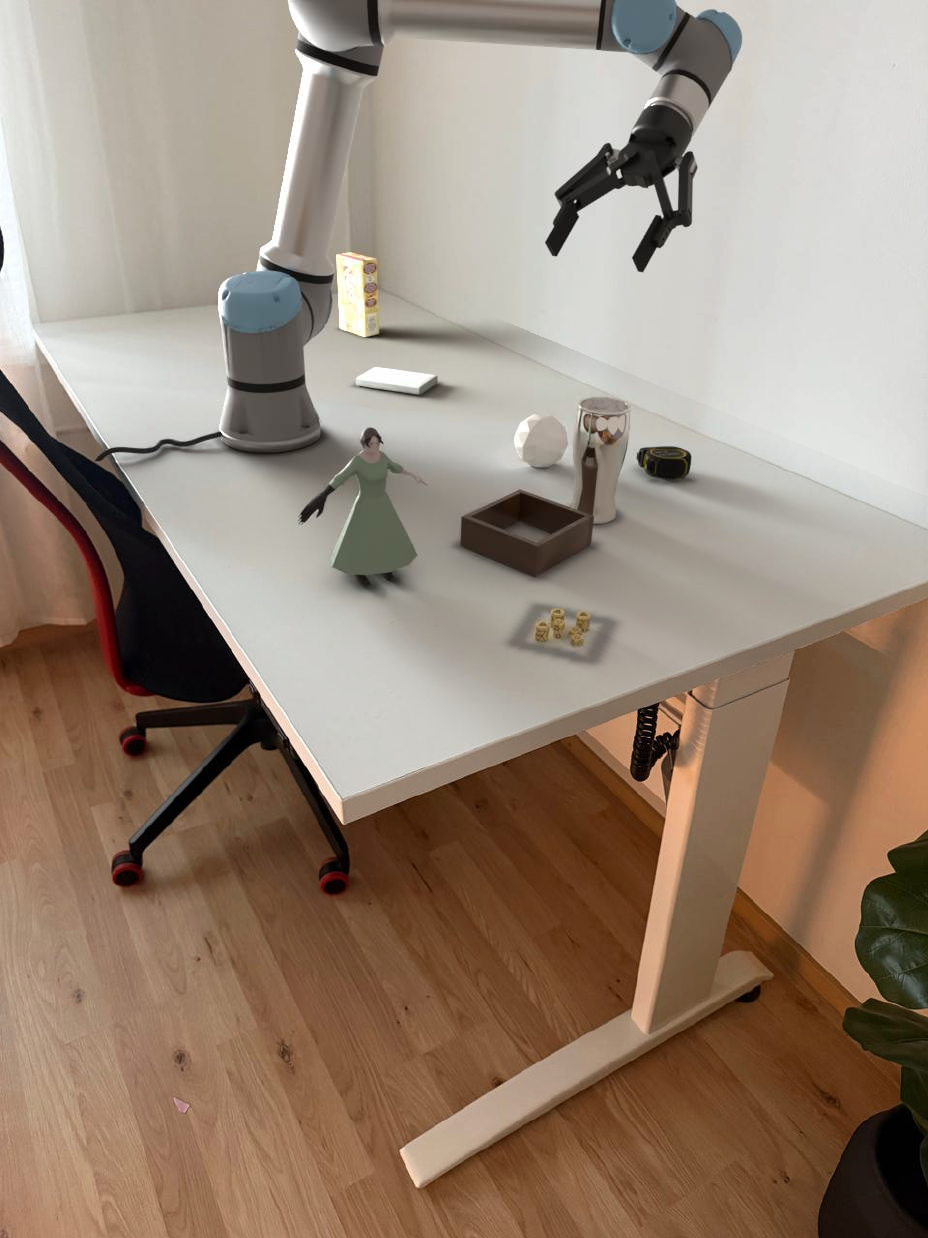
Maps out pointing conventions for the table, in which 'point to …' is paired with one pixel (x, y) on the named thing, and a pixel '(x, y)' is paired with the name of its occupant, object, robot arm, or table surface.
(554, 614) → the dice set
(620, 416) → the beer glass
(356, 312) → the candy box
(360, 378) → the hard drive
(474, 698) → the table surface
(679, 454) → the tape measure
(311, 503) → the character figurine
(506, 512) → the tray
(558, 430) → the geometric ball
